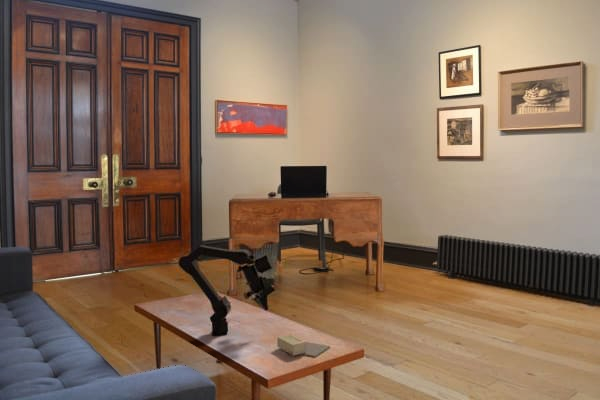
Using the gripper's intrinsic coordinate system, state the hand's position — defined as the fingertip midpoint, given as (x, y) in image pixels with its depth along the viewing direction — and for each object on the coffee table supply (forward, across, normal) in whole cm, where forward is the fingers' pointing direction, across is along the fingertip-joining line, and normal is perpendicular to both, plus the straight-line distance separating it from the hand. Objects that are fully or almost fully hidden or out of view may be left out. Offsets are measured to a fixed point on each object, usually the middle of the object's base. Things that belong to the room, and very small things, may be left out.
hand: (266, 310), depth 237 cm
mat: (+17, -23, +2) cm, 29 cm away
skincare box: (+11, -15, +6) cm, 20 cm away
